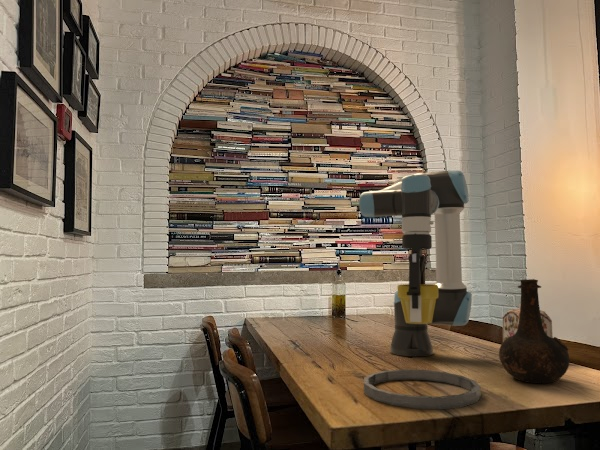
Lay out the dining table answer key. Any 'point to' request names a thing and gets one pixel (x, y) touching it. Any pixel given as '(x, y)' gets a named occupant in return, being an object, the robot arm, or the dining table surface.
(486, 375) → the dining table surface
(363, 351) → the dining table surface
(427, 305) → the plant pot
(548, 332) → the decorative jar
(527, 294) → the glass bottle
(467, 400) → the centring collar
